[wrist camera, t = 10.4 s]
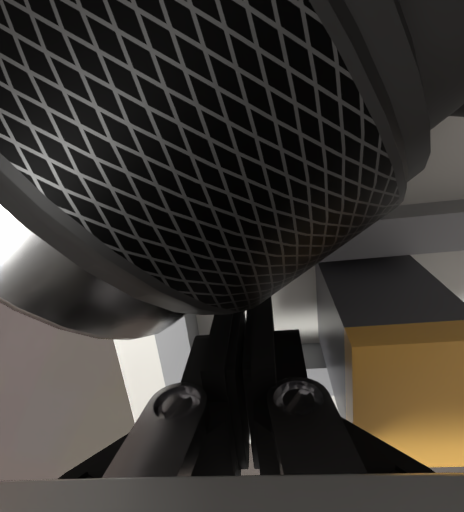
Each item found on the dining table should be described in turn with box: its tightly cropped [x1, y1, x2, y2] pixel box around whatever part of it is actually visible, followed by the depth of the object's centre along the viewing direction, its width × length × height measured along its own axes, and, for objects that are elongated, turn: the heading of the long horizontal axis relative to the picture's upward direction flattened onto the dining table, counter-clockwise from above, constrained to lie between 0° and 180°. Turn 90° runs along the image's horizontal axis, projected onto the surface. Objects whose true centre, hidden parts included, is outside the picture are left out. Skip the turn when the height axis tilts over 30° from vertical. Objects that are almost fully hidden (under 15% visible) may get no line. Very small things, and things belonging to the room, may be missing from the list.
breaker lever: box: [315, 255, 464, 467], centre depth 11 cm, size 3×3×6 cm
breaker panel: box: [113, 116, 464, 443], centre depth 14 cm, size 20×14×4 cm
